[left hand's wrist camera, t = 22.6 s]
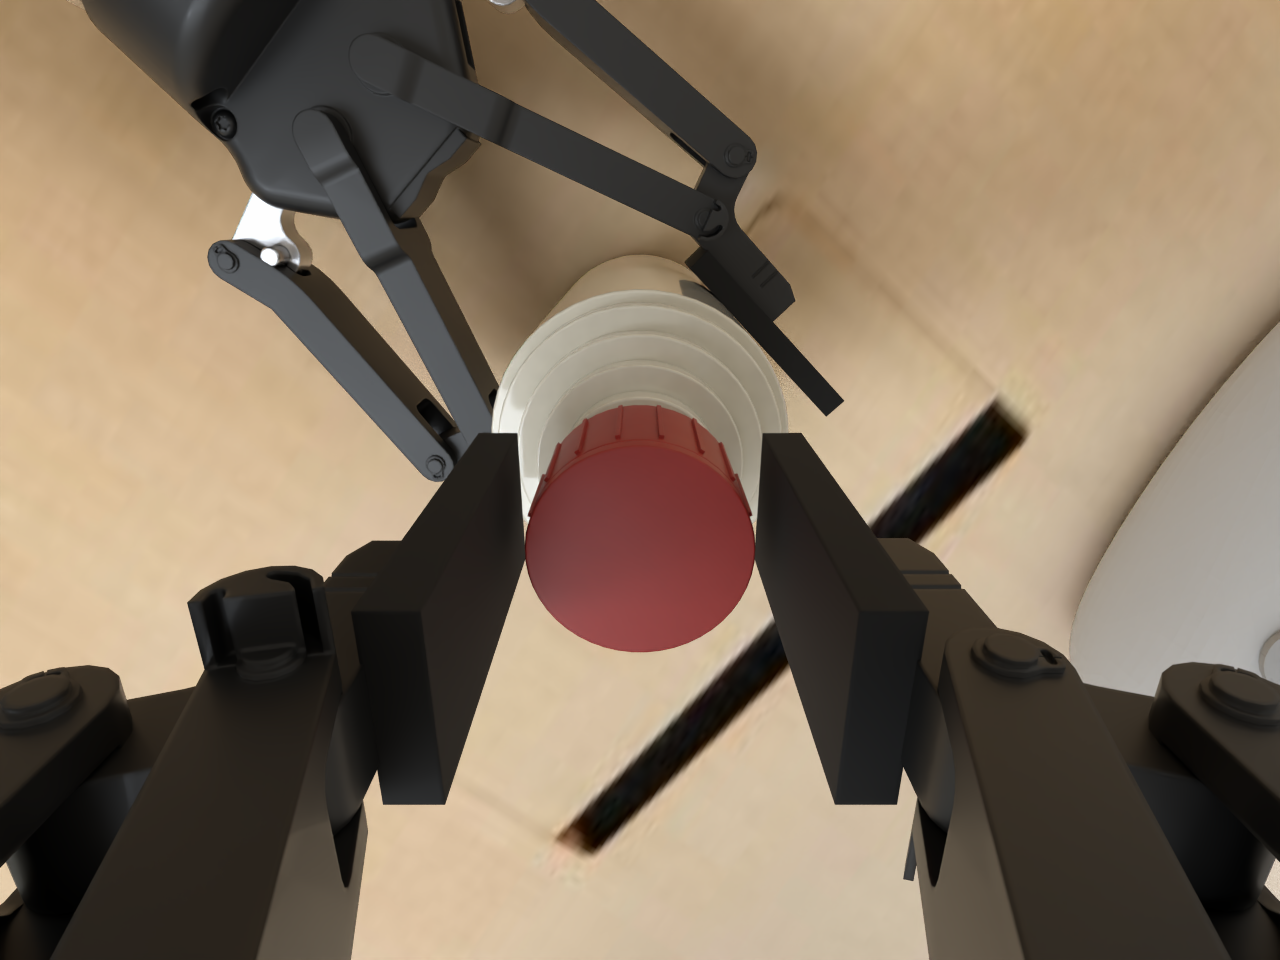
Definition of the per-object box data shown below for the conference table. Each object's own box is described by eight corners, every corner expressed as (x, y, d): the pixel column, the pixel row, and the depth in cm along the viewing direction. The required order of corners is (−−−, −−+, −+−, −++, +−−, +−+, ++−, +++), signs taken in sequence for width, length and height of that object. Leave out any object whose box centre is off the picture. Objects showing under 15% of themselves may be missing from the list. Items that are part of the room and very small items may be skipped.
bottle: (547, 422, 31) (430, 694, 14) (557, 245, 28) (426, 304, 11) (715, 437, 31) (809, 724, 14) (739, 264, 29) (893, 350, 11)
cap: (519, 421, 14) (493, 466, 11) (723, 383, 13) (741, 421, 11) (565, 598, 15) (551, 670, 13) (751, 566, 15) (772, 634, 12)
